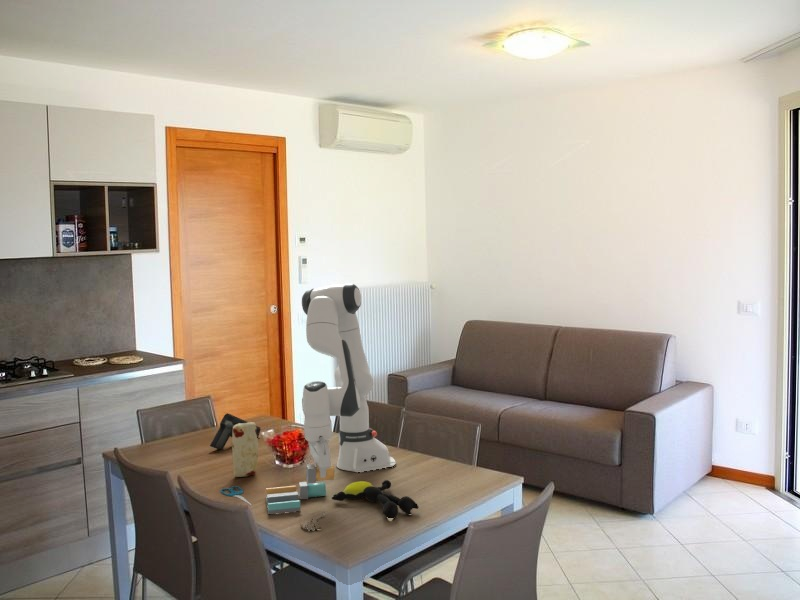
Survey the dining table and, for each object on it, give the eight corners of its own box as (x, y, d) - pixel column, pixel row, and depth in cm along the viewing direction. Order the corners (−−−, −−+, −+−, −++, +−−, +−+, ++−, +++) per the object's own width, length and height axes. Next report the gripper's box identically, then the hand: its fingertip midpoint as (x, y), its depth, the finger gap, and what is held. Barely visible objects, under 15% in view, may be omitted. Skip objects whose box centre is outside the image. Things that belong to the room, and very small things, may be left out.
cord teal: (324, 493, 242) (324, 480, 241) (326, 497, 237) (325, 484, 237) (299, 495, 240) (298, 482, 239) (300, 500, 235) (300, 486, 235)
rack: (296, 495, 240) (295, 485, 239) (300, 511, 225) (300, 501, 225) (266, 498, 237) (265, 488, 237) (268, 515, 223) (268, 504, 222)
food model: (237, 480, 257) (235, 426, 255) (229, 476, 262) (227, 422, 260) (261, 475, 262) (260, 421, 261) (254, 470, 268) (252, 418, 266)
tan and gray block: (331, 477, 234) (332, 463, 234) (334, 481, 230) (334, 467, 229) (305, 478, 231) (306, 464, 231) (308, 483, 227) (308, 469, 227)
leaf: (309, 536, 207) (309, 529, 207) (285, 520, 219) (285, 514, 219) (342, 526, 214) (342, 520, 213) (317, 512, 226) (316, 505, 226)
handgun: (250, 460, 311) (261, 427, 316) (213, 446, 292) (225, 411, 298) (246, 460, 312) (257, 427, 318) (209, 446, 294) (221, 411, 299)
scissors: (237, 485, 250) (261, 502, 233) (237, 488, 250) (261, 505, 234) (219, 489, 246) (242, 506, 229) (219, 492, 246) (242, 509, 230)
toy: (438, 508, 227) (379, 488, 250) (437, 489, 226) (378, 471, 249) (381, 527, 212) (324, 505, 235) (380, 508, 211) (323, 487, 234)
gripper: (334, 439, 220) (337, 482, 221) (322, 424, 240) (325, 463, 241) (314, 442, 218) (317, 486, 220) (303, 426, 238) (306, 466, 239)
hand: (321, 474), depth 231 cm, fingers closed on tan and gray block, 4 cm apart
